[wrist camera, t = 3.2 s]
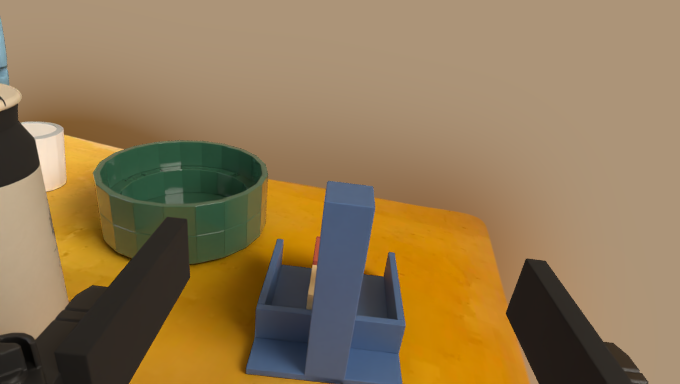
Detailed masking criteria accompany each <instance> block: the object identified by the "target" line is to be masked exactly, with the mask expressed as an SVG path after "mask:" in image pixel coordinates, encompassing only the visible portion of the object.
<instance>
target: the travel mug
mask: <svg viewBox="0 0 680 384" xmlns="http://www.w3.org/2000/svg"><path fill="white" fill-rule="evenodd" d="M20 100H21V93H20V92H19V91H18V90H17V89H16V88H14V87H11V86H9V85H5V84H1V83H0V335H3V334H8V333H26V334H28V335H31V336H33V338H34V340H35V339H36V338H37V337H38V336H39V335H40V334H41V333H42V332H43V331H44V330H45V329H46V327H47V326H48V325H49V324H50V323H51V322H52V321H53V320H55V319H56V317H57V315H58V314H59V313H60V312H61V311H62V310H64V309H65V307H66V306H67V305H68V304H69V301H68V296H67V292H66V287H65V282H64V277H63V272H62V267H61V262H60V258H59V253H58V248H57V243H56V238H55V233H54V228H53V224H52V219H51V214H50V209H49V204H48V199H47V194H46V190H45V185H44V180H43V175H42V170H41V165H40V161H39V156H38V151H37V146H36V141H35V139H34V137H33V136H32V135H31V134H30V133H29V132H28V131H27V130H26V129H25V127H24V126H23V125H22V124H21V123H20V122H19V121H18V103H19V102H20Z"/></svg>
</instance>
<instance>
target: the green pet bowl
mask: <svg viewBox="0 0 680 384" xmlns="http://www.w3.org/2000/svg"><path fill="white" fill-rule="evenodd" d="M93 177H94V184H95V190H96V197H97V204H98V210H99V217H100V224H101V229H102V234H103V238H104V241H105V242H106V243H107V244H108V245H109V246H110V247H112V248H113V249H114V250H115V251H116V252H117V253H120V254H122V255H125V256H127V257H130V258H133V257H134V256H135V254H136V253H137V252H138V251H139V250H140V248H141V247H142V246H143V245H144V244H145V242H146V241H147V240H148V239H149V238H150V236H151V235H152V234H153V233H154V232H155V230H156V229H157V228H158V227H159V226H160V224H161V223H162V222H163V221H164V220H165V219H166V217H175V218H183V219H187V225H188V246H189V264H197V263H202V262H206V261H211V260H215V259H219V258H224V257H227V256H229V255H231V254H233V253H235V252H238V251H240V250H242V249H244V248H246V247H247V246H248V245H250V244H251V243H252V242H253V241H254V240H255V239H257V238H258V237H259V236H260V234H261V232H262V230H263V228H264V226H265V223H266V203H267V182H268V173H267V168H266V165H265V164H264V163H263V162H262V161H261V160H260V159H259V158H258V157H257V156H256V155H254V154H252V153H250V152H248V151H246V150H243V149H241V148H237V147H233V146H229V145H226V144H220V143H213V142H206V141H184V140H180V141H179V140H177V141H163V142H154V143H149V144H143V145H138V146H133V147H130V148H127V149H124V150H121V151H119V152H116V153H114V154H112V155H110V156H109V157H107V158H106V159H104V160H102V161H101V162H100V163H99V164H98V166H97V167H96V169H95V170H94V172H93Z"/></svg>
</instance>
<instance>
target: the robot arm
mask: <svg viewBox="0 0 680 384" xmlns="http://www.w3.org/2000/svg"><path fill="white" fill-rule="evenodd" d="M6 68H7V55H6V47H5V40H4V34H3V29H2V23H1V18H0V83H1V84H5V85H9V75H8V70H7V69H6ZM189 278H190V267H189V246H188V225H187V219H183V218H175V217H166V219H165V220H164V221H163V222H162V223H161V224H160V226H159V227H158V228H157V229H156V230H155V232H154V233H153V234H152V235H151V236H150V238H149V239H148V240H147V241H146V242H145V244H144V245H143V246H142V247H141V248H140V250H139V251H138V252H137V253H136V254H135V256H134V257H133V258H132V259H131V260H130V262H129V263H128V264H127V265H126V266H125V268H124V269H123V270H122V271H121V272H120V274H119V275H118V276H117V277H116V278H115V280H114V281H113V282H112V283H111V284H110V285H109V287H103V286H94V285H92V286H91V287H89V288H87V289H86V290H84V291H82V292H81V293H79V294H77V295H76V296H75V297H74V298H73V299H72V300H71V301H70V302H69V304H68V305H67V306H66V307H65V309H64V310H62V311H61V312H60V313H59V314H58V315H57V317H56V319H55V320H53V321H52V322H51V323H50V324H49V325H48V326H47V327H46V329H45V330H44V331H43V332H42V333H41V334H40V335H39V336H38V337H37V338H36V339H35V340H34V338H33V336H31V335H28V334H26V333H8V334H3V335H0V384H129V382H130V381H131V379H132V377H133V375H134V374H135V372H136V370H137V368H138V367H139V365H140V363H141V361H142V360H143V358H144V356H145V355H146V353H147V351H148V349H149V348H150V346H151V344H152V342H153V341H154V339H155V337H156V335H157V334H158V332H159V330H160V329H161V327H162V325H163V323H164V322H165V320H166V318H167V316H168V315H169V313H170V311H171V309H172V308H173V306H174V304H175V303H176V301H177V299H178V297H179V296H180V294H181V292H182V290H183V289H184V287H185V285H186V283H187V282H188V280H189ZM506 315H507V317H508V319H509V321H510V324H511V326H512V328H513V330H514V332H515V334H516V336H517V338H518V340H519V343H520V345H521V347H522V349H523V351H524V353H525V355H526V357H527V360H528V362H529V363H530V366H531V368H532V370H533V372H534V374H535V376H536V379H537V381H538V383H539V384H648V381H647V380H646V378H645V377H644V376H643V374H642V373H640V372H639V369H638V368H637V366H636V365H635V364H634V363H633V361H632V360H631V359H630V357H629V356H628V355H627V354H626V353H624V352H623V351H622V350H621V349H620V348H618V347H617V346H616V345H615V344H614V343H609V342H603V341H602V339H601V338H600V337H599V335H598V334H597V332H596V331H595V330H594V328H593V327H592V325H591V324H590V322H589V321H588V320H587V318H586V317H585V315H584V314H583V313H582V311H581V310H580V308H579V307H578V306H577V304H576V303H575V301H574V300H573V299H572V298H571V296H570V295H569V293H568V292H567V290H566V289H565V287H564V286H563V285H562V283H561V282H560V280H558V278H557V276H556V275H555V273H554V272H553V271H552V269H551V268H550V267H549V265H548V264H547V262H546V261H542V260H533V259H526V260H525V263H524V266H523V268H522V271H521V274H520V276H519V279H518V282H517V284H516V287H515V290H514V293H513V295H512V298H511V300H510V303H509V306H508V308H507V311H506Z"/></svg>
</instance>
